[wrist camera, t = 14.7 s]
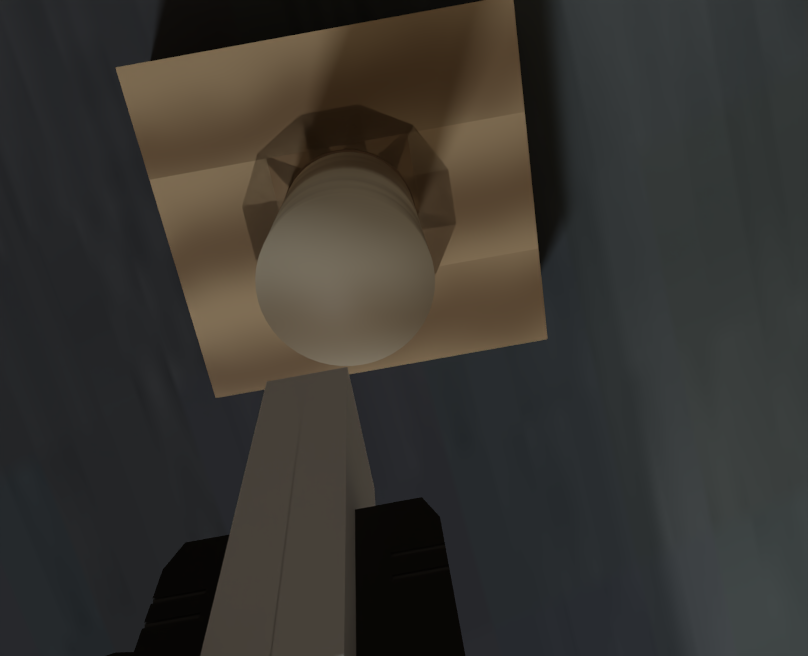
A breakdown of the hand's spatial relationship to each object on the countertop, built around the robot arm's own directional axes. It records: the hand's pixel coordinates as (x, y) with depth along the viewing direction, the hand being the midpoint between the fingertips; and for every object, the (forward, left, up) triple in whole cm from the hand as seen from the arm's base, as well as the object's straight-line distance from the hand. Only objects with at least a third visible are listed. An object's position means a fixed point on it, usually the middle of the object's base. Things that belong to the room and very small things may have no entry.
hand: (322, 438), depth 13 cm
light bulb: (0, 0, -24) cm, 24 cm away
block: (0, 0, -24) cm, 24 cm away
